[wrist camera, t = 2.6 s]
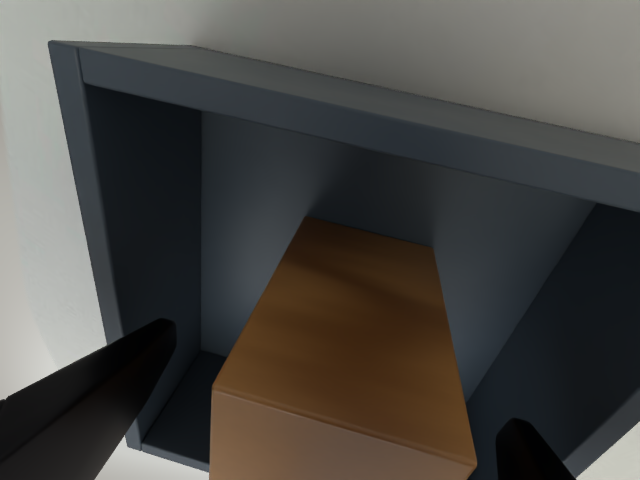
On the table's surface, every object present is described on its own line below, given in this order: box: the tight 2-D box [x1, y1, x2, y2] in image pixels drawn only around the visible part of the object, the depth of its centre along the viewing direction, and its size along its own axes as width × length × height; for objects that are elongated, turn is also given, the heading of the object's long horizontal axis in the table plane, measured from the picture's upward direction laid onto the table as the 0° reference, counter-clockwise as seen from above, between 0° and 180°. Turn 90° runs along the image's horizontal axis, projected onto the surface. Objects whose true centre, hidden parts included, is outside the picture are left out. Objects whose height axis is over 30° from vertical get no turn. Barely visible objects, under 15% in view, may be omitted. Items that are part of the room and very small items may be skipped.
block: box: [209, 216, 477, 480], centre depth 10 cm, size 4×4×7 cm
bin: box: [48, 40, 640, 480], centre depth 11 cm, size 13×13×5 cm
